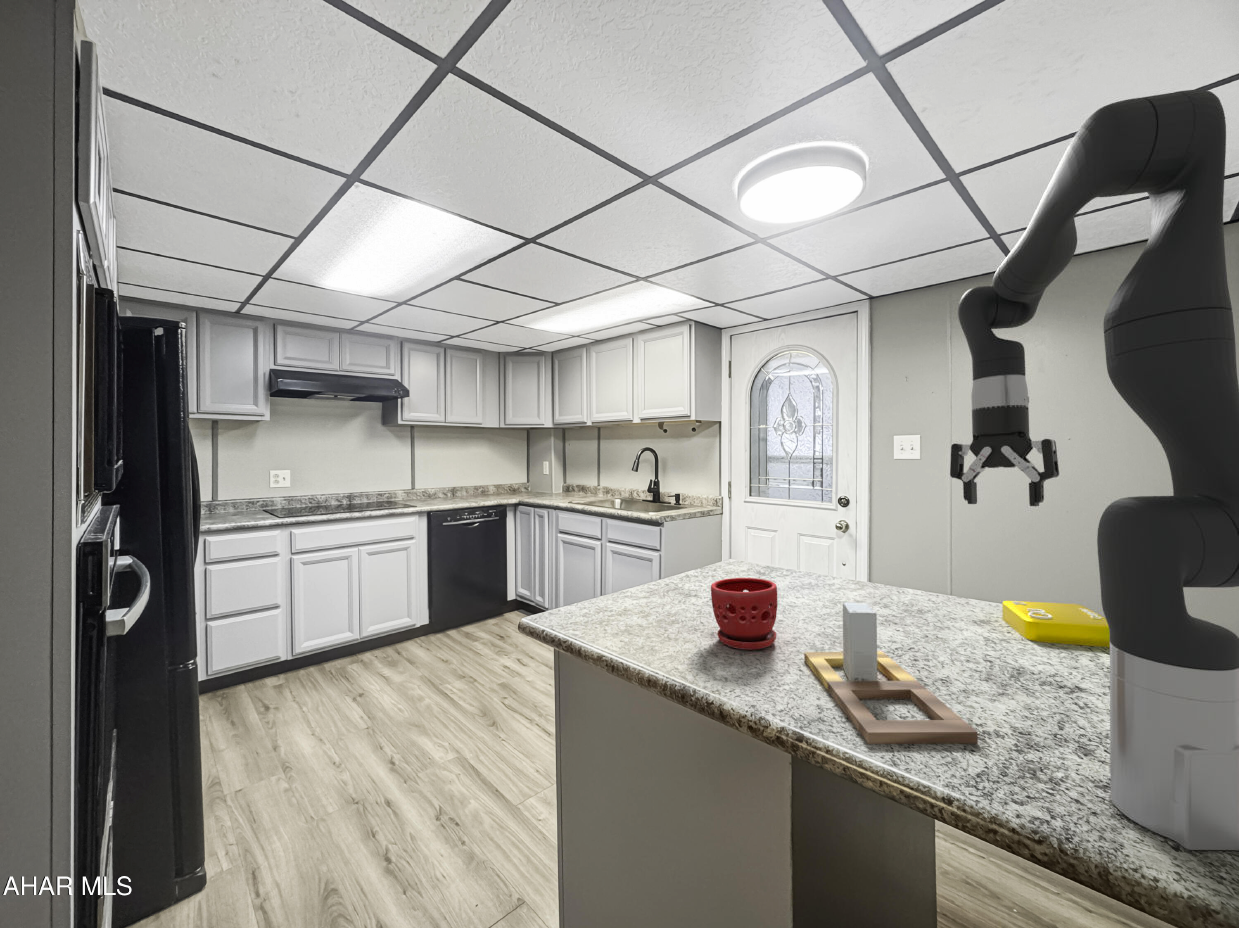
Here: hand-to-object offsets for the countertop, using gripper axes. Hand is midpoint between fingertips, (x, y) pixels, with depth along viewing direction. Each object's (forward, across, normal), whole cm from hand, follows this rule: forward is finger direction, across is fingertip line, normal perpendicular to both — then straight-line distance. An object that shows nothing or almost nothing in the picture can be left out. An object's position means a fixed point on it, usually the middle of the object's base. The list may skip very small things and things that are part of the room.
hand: (1002, 505), depth 84 cm
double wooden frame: (+29, -11, -20) cm, 37 cm away
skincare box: (+29, -16, -16) cm, 37 cm away
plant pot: (+29, -39, -18) cm, 52 cm away
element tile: (+28, -2, +34) cm, 44 cm away
